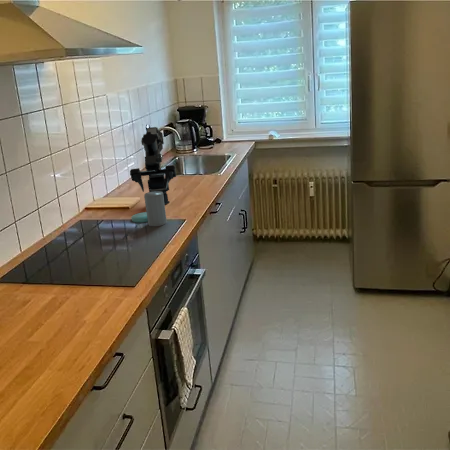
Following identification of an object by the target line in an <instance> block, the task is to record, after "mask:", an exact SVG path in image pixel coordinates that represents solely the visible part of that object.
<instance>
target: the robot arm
mask: <svg viewBox="0 0 450 450" xmlns="http://www.w3.org/2000/svg"><path fill="white" fill-rule="evenodd" d="M140 142H141V146H143V149H144V152H145V156H144V167H145V170H141V169H140V167H138V168H131V169H130V170H129V175H130V177H131V181H133V182H135V183H138V185H139V186H140V189H141V191H142V192H143V193H144V192H145V187H144V183H143V179H142V177H145V176H146V177H148V179H147V187H148V192H153V191H161V192H163V196H164V204H165V205H168V204H170V201H169V197H168V193H167V192H168V191H170V185H169V184H170V182H171V180H172V179H174V178H175V177H177V171H176V170H177V169H176V166H175V165H174V164H169V165H165V168H162V165H161V163H162V162H163V157H162V153H161V152H162V150H163V149H164V147H163V145H164V144H165V142H164V135H163V132H162V131H160V130H159V129H158V127H157V126H154V127H147V128H146V132H145V133H144V134H143V137H141V141H140Z"/></svg>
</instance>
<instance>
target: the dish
mask: <svg viewBox="0 0 450 450" xmlns="http://www.w3.org/2000/svg"><path fill="white" fill-rule="evenodd" d="M130 219H131V222H133V223H136V224H138V223H148V219H147V212H146V211H143V212H138V213H135V214H133V215H131V217H130Z"/></svg>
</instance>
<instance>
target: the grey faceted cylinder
mask: <svg viewBox="0 0 450 450" xmlns="http://www.w3.org/2000/svg"><path fill="white" fill-rule="evenodd" d="M143 196H144V203H145V204H144V205H145V212H147V219H148V222H147V224H148V226H149V227H160V226H163V225H166V224H167V223H168V221H167V214H166V213H167V212H166V206H165V205H166V204H164V196H163V192H161V191H153V192H149V191H148V192H146V193H144V195H143Z"/></svg>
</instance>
